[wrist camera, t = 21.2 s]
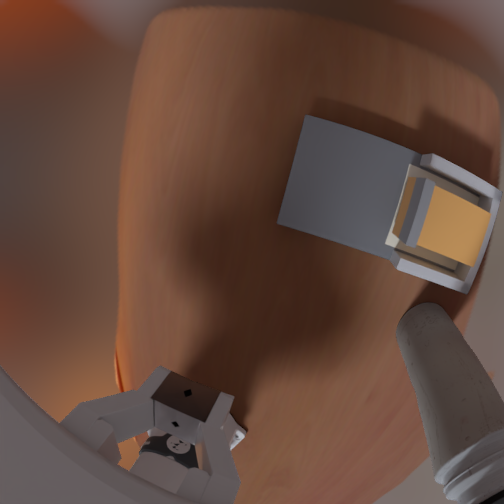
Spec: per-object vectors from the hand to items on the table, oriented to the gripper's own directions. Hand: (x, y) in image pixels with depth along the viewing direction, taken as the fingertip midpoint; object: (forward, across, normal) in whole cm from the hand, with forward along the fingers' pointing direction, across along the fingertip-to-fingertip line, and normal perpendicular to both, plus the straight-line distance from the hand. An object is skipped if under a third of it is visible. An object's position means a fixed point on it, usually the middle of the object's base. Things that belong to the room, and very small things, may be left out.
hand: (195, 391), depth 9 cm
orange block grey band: (+22, +16, +8) cm, 28 cm away
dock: (+25, +10, +8) cm, 28 cm away
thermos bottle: (+25, +22, -6) cm, 34 cm away
